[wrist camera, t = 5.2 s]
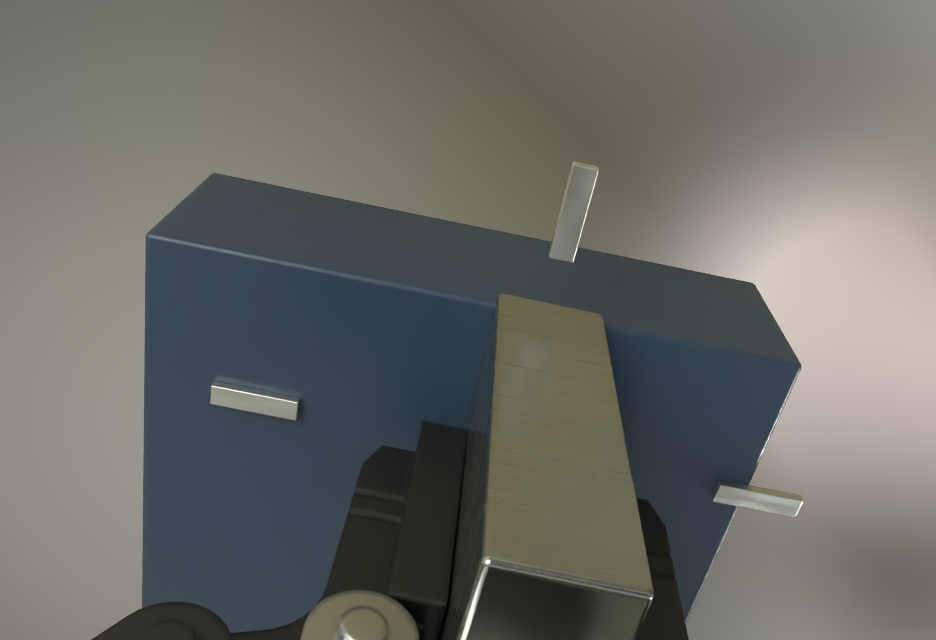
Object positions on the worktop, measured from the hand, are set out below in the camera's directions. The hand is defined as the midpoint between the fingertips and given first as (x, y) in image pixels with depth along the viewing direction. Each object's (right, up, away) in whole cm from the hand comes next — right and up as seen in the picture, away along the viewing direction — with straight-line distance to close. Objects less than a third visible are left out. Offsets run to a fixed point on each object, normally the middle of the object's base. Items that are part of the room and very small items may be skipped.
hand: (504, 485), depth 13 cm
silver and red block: (0, 0, 0) cm, 1 cm away
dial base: (0, +1, +4) cm, 4 cm away
